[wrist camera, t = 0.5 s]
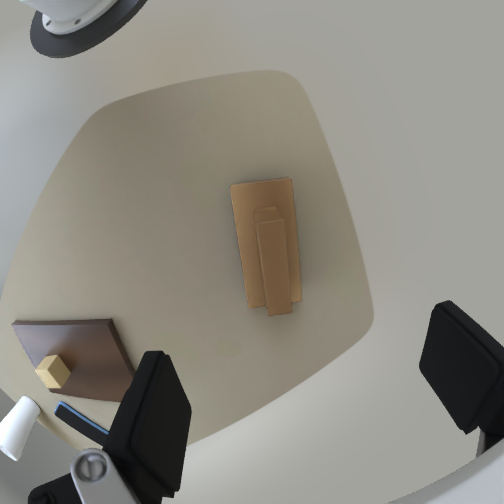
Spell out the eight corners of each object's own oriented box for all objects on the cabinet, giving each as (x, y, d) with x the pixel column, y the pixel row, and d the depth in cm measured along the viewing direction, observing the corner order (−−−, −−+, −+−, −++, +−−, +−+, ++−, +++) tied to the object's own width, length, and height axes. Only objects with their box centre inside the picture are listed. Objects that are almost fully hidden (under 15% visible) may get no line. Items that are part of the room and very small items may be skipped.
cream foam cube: (45, 356, 29) (34, 370, 26) (57, 354, 29) (47, 369, 26) (57, 374, 31) (48, 388, 27) (71, 372, 30) (61, 388, 27)
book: (15, 320, 29) (11, 324, 28) (111, 318, 29) (107, 324, 28) (53, 387, 33) (50, 392, 32) (149, 398, 33) (147, 404, 32)
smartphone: (58, 402, 34) (127, 445, 37) (60, 399, 34) (128, 442, 38) (52, 414, 35) (115, 454, 39) (54, 411, 36) (116, 451, 40)
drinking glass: (18, 397, 36) (-10, 441, 21) (22, 387, 34) (-9, 436, 20) (40, 417, 37) (16, 463, 23) (46, 409, 36) (19, 460, 22)
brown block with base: (247, 293, 28) (250, 341, 20) (231, 183, 24) (226, 194, 17) (296, 287, 28) (314, 331, 20) (285, 176, 24) (305, 184, 17)
